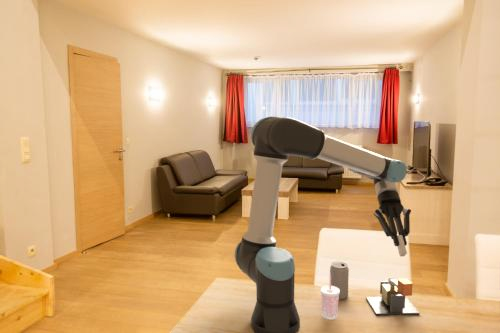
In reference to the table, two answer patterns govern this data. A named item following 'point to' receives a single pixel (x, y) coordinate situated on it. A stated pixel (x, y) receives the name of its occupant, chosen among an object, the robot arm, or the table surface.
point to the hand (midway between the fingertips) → (403, 254)
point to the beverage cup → (330, 301)
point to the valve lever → (402, 286)
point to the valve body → (391, 302)
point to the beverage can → (340, 278)
